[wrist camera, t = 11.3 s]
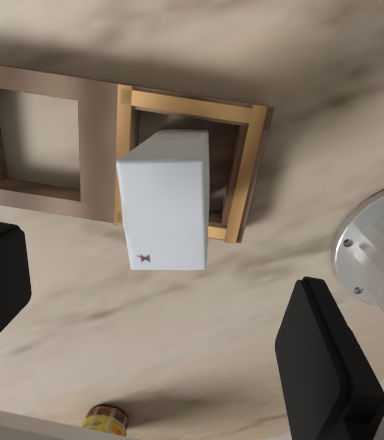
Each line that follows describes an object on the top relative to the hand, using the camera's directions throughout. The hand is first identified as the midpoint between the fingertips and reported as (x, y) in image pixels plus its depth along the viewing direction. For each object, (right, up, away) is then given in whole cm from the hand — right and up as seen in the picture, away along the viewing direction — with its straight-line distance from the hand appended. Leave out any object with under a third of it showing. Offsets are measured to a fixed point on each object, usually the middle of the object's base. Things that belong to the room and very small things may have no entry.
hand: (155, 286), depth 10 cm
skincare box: (+1, +7, +15) cm, 17 cm away
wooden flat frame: (-5, +8, +15) cm, 18 cm away
